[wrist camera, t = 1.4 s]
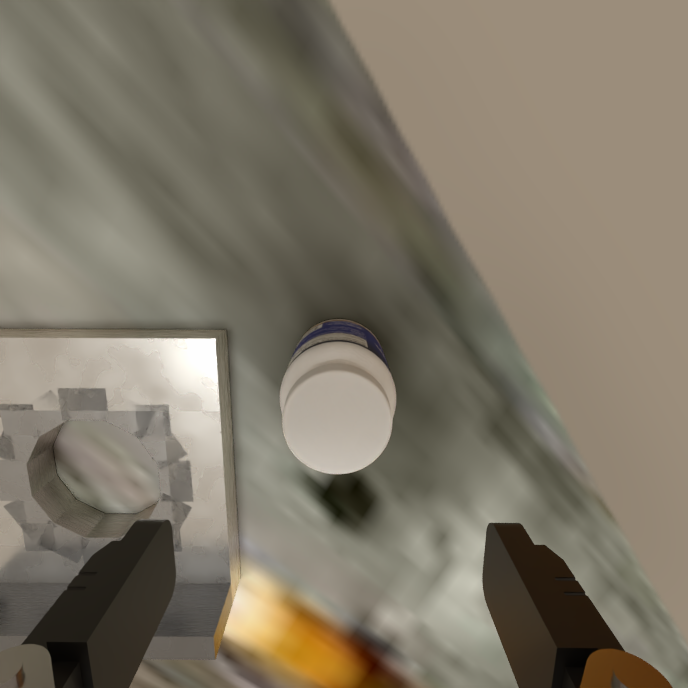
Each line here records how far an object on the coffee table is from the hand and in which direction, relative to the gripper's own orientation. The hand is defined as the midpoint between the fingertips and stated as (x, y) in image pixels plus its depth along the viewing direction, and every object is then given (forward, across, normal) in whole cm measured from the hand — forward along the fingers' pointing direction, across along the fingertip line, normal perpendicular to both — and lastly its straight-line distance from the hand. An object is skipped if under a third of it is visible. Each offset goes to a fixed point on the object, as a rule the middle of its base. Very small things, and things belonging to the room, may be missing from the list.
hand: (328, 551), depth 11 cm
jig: (+18, +15, +7) cm, 24 cm away
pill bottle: (+18, 0, 0) cm, 18 cm away
